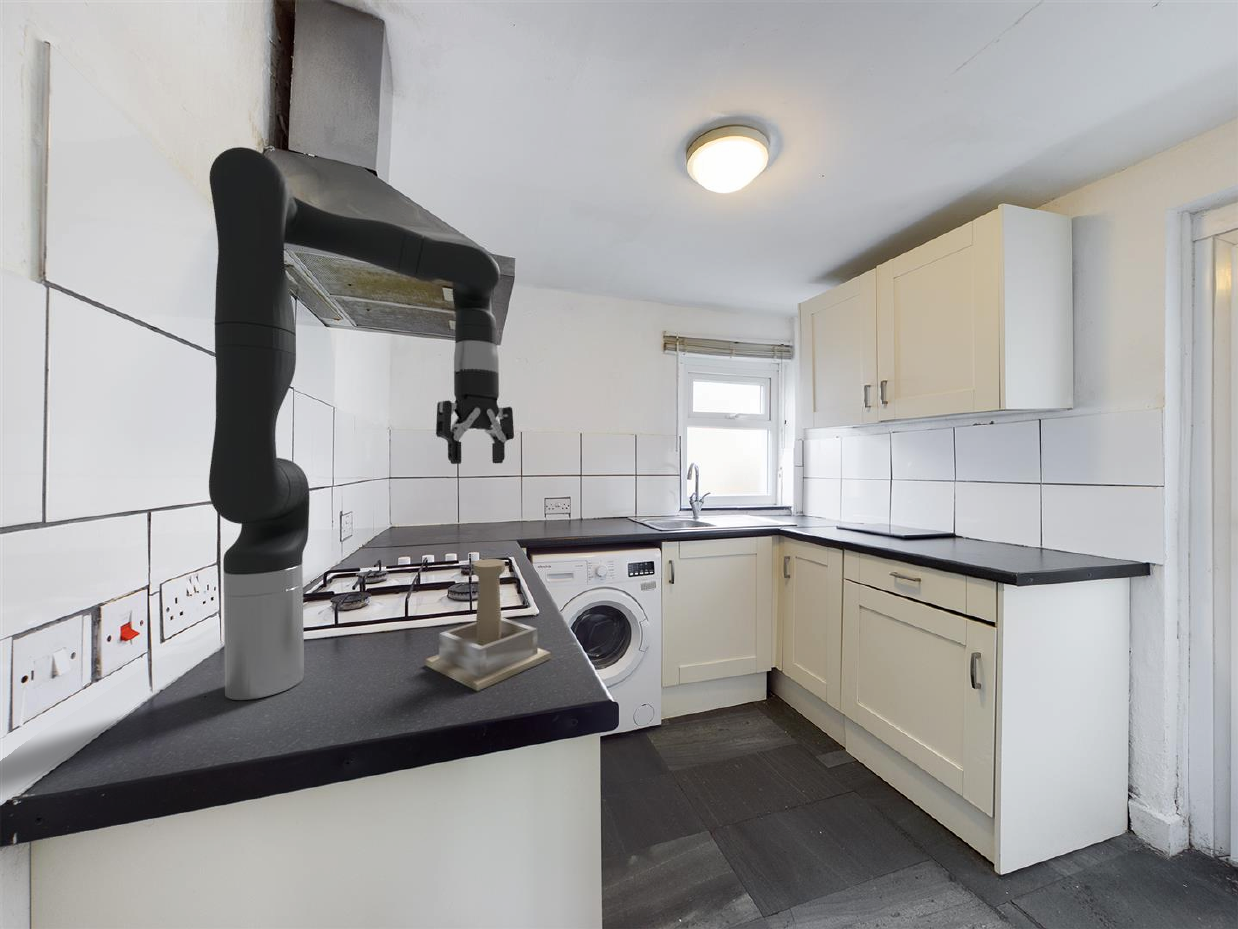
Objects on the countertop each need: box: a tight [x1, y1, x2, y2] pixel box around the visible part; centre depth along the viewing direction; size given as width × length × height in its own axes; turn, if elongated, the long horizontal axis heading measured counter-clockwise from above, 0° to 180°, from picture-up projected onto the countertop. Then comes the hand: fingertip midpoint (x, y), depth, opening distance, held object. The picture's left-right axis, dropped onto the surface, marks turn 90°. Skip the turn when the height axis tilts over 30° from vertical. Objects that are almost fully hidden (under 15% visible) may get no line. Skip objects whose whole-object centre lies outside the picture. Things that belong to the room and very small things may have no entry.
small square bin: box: [425, 616, 552, 692], centre depth 77 cm, size 14×14×5 cm
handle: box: [472, 558, 506, 646], centre depth 77 cm, size 5×6×15 cm
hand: (477, 463), depth 83 cm, fingers open, 8 cm apart
